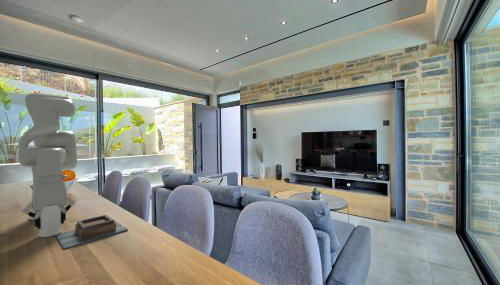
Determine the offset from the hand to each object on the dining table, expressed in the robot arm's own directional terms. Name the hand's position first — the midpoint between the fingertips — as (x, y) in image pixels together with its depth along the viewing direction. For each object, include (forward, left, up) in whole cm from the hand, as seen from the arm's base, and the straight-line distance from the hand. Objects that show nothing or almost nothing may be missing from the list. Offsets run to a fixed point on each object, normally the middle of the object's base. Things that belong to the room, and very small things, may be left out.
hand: (50, 225), depth 86 cm
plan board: (+12, +12, -4) cm, 17 cm away
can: (0, 0, -4) cm, 4 cm away
